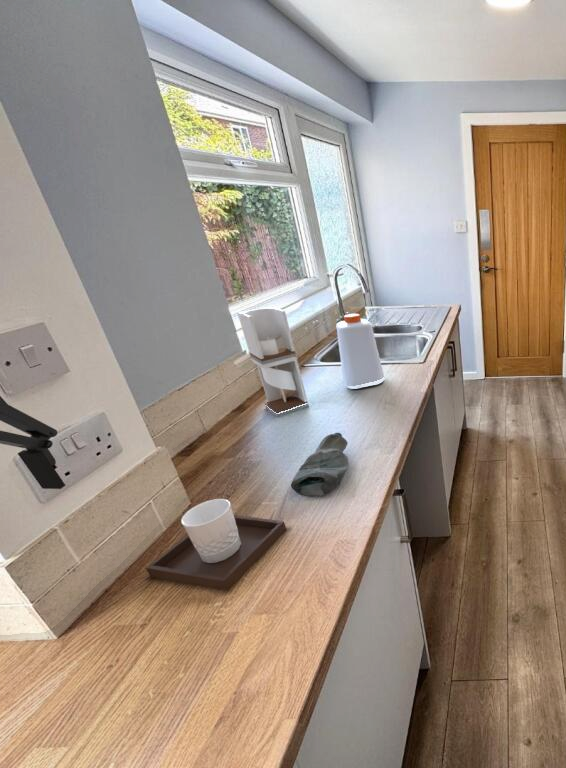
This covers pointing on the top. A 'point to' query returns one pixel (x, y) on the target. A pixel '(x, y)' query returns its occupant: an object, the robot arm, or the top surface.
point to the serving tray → (191, 569)
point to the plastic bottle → (358, 351)
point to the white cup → (212, 530)
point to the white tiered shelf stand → (274, 358)
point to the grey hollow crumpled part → (322, 468)
